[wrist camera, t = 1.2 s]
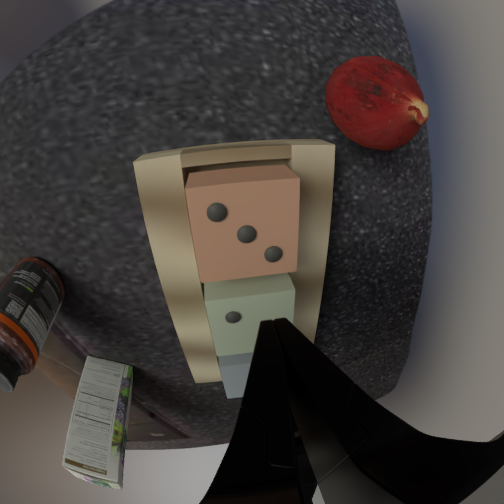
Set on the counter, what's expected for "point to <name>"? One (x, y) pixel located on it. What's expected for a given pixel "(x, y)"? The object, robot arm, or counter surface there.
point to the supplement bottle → (26, 317)
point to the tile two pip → (246, 309)
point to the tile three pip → (244, 221)
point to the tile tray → (181, 242)
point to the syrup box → (100, 423)
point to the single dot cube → (235, 373)
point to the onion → (375, 102)
